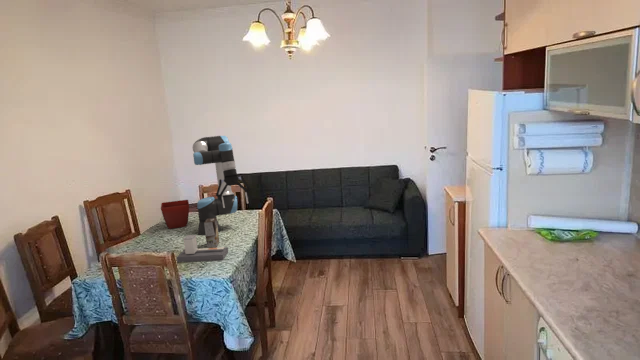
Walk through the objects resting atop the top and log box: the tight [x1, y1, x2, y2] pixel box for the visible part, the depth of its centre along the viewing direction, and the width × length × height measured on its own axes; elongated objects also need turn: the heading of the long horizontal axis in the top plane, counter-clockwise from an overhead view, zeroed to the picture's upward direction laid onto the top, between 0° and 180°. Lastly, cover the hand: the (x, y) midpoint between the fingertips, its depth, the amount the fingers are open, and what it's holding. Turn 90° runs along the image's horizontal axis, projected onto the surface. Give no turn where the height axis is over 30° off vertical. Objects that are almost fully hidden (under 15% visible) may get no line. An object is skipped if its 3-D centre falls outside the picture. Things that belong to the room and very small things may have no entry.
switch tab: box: [182, 234, 199, 254], centre depth 241 cm, size 5×6×9 cm
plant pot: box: [160, 199, 190, 230], centre depth 309 cm, size 19×19×17 cm
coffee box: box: [204, 217, 220, 248], centre depth 261 cm, size 9×6×16 cm
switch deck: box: [176, 246, 229, 263], centre depth 242 cm, size 26×12×3 cm, turn 88°
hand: (236, 205), depth 245 cm, fingers open, 13 cm apart
